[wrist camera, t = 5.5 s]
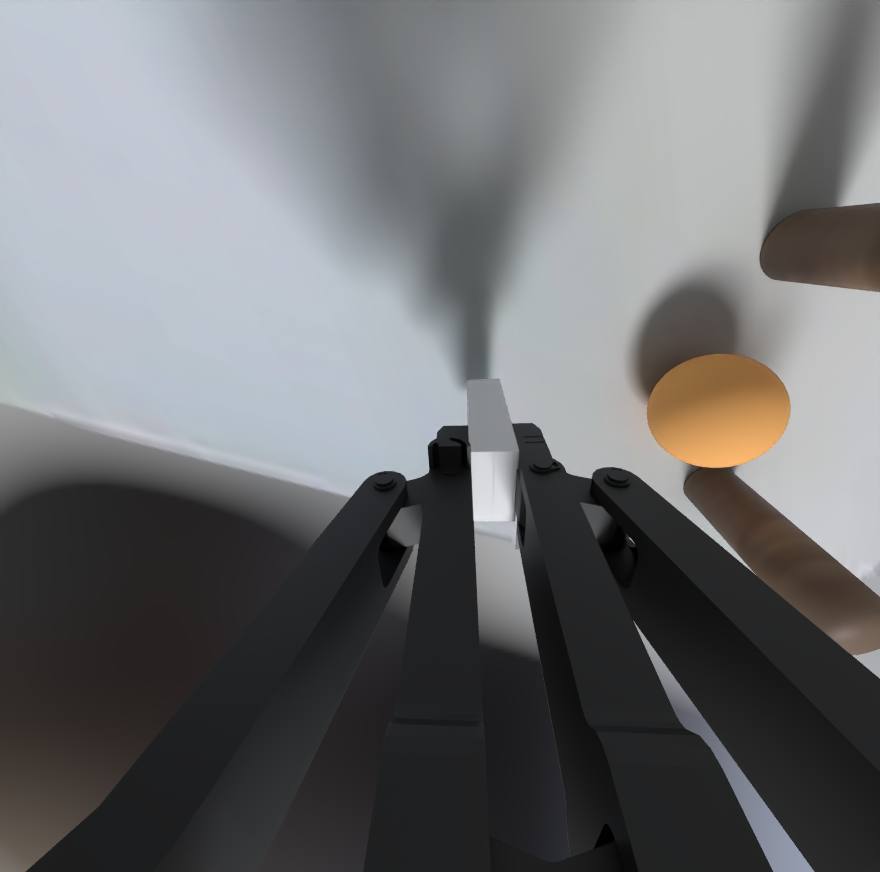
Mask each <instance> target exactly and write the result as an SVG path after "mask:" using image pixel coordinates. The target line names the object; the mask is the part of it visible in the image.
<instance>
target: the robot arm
mask: <svg viewBox="0 0 880 872" xmlns="http://www.w3.org/2000/svg"><path fill="white" fill-rule="evenodd" d="M467 417H468V426H443V427H442V428H441V429H440V430H439V431H438V432H437V439H435V440H433V441H432V442H430V444H429V445H428V456H429V473H428V474H426V475H425V476H423V477H420V478H417V479H414V480H409V481H406V479H405V476H403V475H402V474H400V473H397V472H394V471H384V472H379V473H376V474H374V475H372V476H370V477H369V478H367V479H366V480H365V481H364V482H363V484H362V485H361V486H360V487H359V488H358V490H357V491H356V492H355V493H354V495H353V496H352V497H351V498H350V499H349V501H348V502H347V503H346V504H345V506H344V507H343V508H342V509H341V511H340V512H339V513H338V514H337V515H336V517H335V518H334V519H333V520H332V522H331V523H330V524H329V525H328V526H327V528H326V529H325V530H324V531H323V533H322V534H321V535H320V536H319V538H318V539H317V540H316V541H315V542H314V544H313V545H312V546H311V547H310V549H309V550H308V551H307V552H306V554H305V555H304V556H303V557H302V559H301V560H300V561H299V562H298V563H297V565H296V566H295V567H294V568H293V570H292V571H291V572H290V573H289V574H288V576H287V577H286V578H285V579H284V580H283V582H282V583H281V584H280V585H279V587H278V588H277V589H276V590H275V591H274V593H273V594H272V595H271V596H270V598H269V599H268V600H267V601H266V602H265V604H264V605H263V606H262V607H261V609H260V610H259V611H258V612H257V613H256V615H255V616H254V617H253V618H252V620H251V621H250V622H249V623H248V624H247V626H246V627H245V628H244V630H243V631H242V632H241V633H240V634H239V636H238V637H237V638H236V639H235V641H234V642H233V643H232V644H231V645H230V647H229V648H228V649H227V650H226V651H225V653H224V654H223V655H222V656H221V658H220V659H219V660H218V661H217V663H216V664H215V665H214V666H213V668H212V669H211V670H210V671H209V672H208V674H207V675H206V676H205V677H204V679H203V680H202V681H201V682H200V683H199V685H198V686H197V687H196V688H195V689H194V691H193V692H192V693H191V695H190V696H189V697H188V698H187V699H186V701H185V702H184V703H183V704H182V705H181V707H180V708H179V709H178V711H177V712H176V713H175V714H174V715H173V716H172V718H171V719H170V720H169V721H168V723H167V724H166V725H165V726H164V728H163V729H162V730H161V731H160V732H159V734H158V735H157V736H156V737H155V738H154V740H153V741H152V742H151V744H150V745H149V746H148V747H147V748H146V750H145V751H144V752H143V753H142V754H141V756H140V757H139V758H138V759H137V761H136V762H135V763H134V764H133V765H132V767H131V768H130V769H129V770H128V772H127V773H126V774H125V775H124V776H123V778H122V779H121V780H120V781H119V783H118V784H117V785H116V786H115V788H114V789H113V790H112V791H111V792H110V794H109V795H108V796H107V797H106V799H105V800H104V801H103V802H102V803H101V805H100V806H99V807H98V808H97V809H96V810H94V811H93V812H92V813H91V814H90V815H89V816H88V817H87V818H85V819H84V821H82V822H81V823H80V824H79V825H78V826H76V827H75V829H73V830H72V831H71V832H70V833H69V834H67V835H66V836H65V837H64V838H63V839H62V840H61V841H60V842H59V843H57V844H56V845H55V846H54V847H53V848H52V849H51V850H50V851H48V852H47V853H46V854H45V855H44V856H43V857H42V858H41V859H39V860H38V861H37V862H36V863H35V864H34V865H33V866H32V867H30V869H28V870H27V871H26V872H258V870H259V869H260V867H261V865H262V863H263V861H264V859H265V857H266V855H267V853H268V851H269V849H270V847H271V845H272V843H273V841H274V838H275V836H276V834H277V832H278V830H279V828H280V826H281V824H282V822H283V820H284V818H285V816H286V813H287V811H288V809H289V807H290V805H291V803H292V801H293V799H294V797H295V795H296V792H297V791H298V788H299V786H300V784H301V782H302V780H303V778H304V776H305V774H306V772H307V770H308V768H309V766H310V764H311V761H312V759H313V757H314V755H315V753H316V751H317V749H318V747H319V745H320V743H321V740H322V738H323V736H324V734H325V732H326V730H327V728H328V726H329V724H330V722H331V720H332V718H333V716H334V714H335V711H336V709H337V707H338V705H339V703H340V701H341V699H342V697H343V695H344V693H345V690H346V688H347V686H348V684H349V682H350V680H351V678H352V676H353V674H354V672H355V670H356V668H357V666H358V664H359V662H360V659H361V657H362V655H363V653H364V651H365V649H366V647H367V645H368V643H369V641H370V639H371V637H372V634H373V632H374V630H375V628H376V626H377V624H378V622H379V620H380V618H381V616H382V614H383V612H384V609H385V607H386V605H387V603H388V601H389V599H390V597H391V595H392V593H393V591H394V589H395V587H396V584H397V582H398V580H399V578H400V576H401V574H402V572H403V570H404V568H405V566H406V564H407V562H408V559H409V557H410V555H411V553H412V551H413V546H414V545H415V544H419V548H418V555H417V562H416V570H415V576H414V583H413V590H412V597H411V605H410V612H409V619H408V626H407V633H406V641H405V647H404V654H403V662H402V669H401V676H400V683H399V690H398V697H397V704H396V710H395V714H394V717H393V719H392V721H391V722H390V723H389V725H388V728H387V731H386V735H385V739H384V745H383V750H382V756H381V762H380V768H379V774H378V781H377V787H376V794H375V800H374V807H373V813H372V819H371V826H370V833H369V839H368V845H367V851H366V858H365V865H364V871H363V872H773V870H772V868H771V866H770V864H769V862H768V860H767V859H766V856H765V854H764V852H763V850H762V848H761V846H760V844H759V842H758V840H757V838H756V836H755V834H754V832H753V830H752V828H751V826H750V824H749V822H748V820H747V818H746V816H745V814H744V812H743V810H742V808H741V806H740V804H739V802H738V800H737V797H736V796H735V793H734V791H733V789H732V787H731V785H730V783H729V781H728V779H727V777H726V775H725V773H724V771H723V769H722V768H721V765H720V764H719V762H718V760H717V759H716V757H715V755H714V753H713V752H712V750H711V748H710V747H709V746H708V745H707V744H706V743H705V742H704V740H703V739H702V738H701V737H700V736H699V735H697V734H695V733H693V732H691V731H689V730H687V729H685V728H684V727H683V725H682V724H681V723H680V722H679V720H678V718H677V716H676V714H675V712H674V710H673V708H672V706H671V704H670V702H669V699H668V697H667V695H666V693H665V690H664V688H663V686H662V684H661V681H660V679H659V677H658V675H657V672H656V670H655V668H654V666H653V664H652V661H651V659H650V657H649V655H648V653H647V651H646V648H645V646H644V644H643V641H642V639H641V637H640V635H639V632H638V630H637V628H636V626H635V624H634V622H635V623H636V625H637V626H638V628H639V629H640V630H641V632H642V633H643V634H644V636H645V637H646V639H647V640H648V641H649V642H650V644H651V646H652V647H653V648H654V650H655V651H656V652H657V654H658V655H659V657H660V658H661V659H662V661H663V662H664V663H665V665H666V666H667V668H668V669H669V670H670V672H671V673H672V675H673V676H674V677H675V679H676V680H677V681H678V683H679V684H680V686H681V687H682V688H683V690H684V691H685V693H686V694H687V695H688V697H689V698H690V700H691V701H692V702H693V704H694V705H695V706H696V708H697V709H698V711H699V712H700V713H701V715H702V716H703V718H704V719H705V720H706V721H707V723H708V724H709V726H710V727H711V729H712V730H713V731H714V733H715V734H716V736H717V737H718V738H719V740H720V741H721V743H722V744H723V745H724V747H725V748H726V749H727V751H728V752H729V754H730V755H731V756H732V758H733V759H734V761H735V762H736V763H737V765H738V766H739V767H740V769H741V770H742V772H743V773H744V774H745V776H746V777H747V779H748V780H749V781H750V783H751V784H752V785H753V787H754V788H755V790H756V791H757V792H758V794H759V795H760V797H761V798H762V799H763V801H764V802H765V804H766V805H767V806H768V808H769V809H770V810H771V812H772V813H773V815H774V816H775V817H776V819H777V820H778V821H779V823H780V824H781V826H782V827H783V829H784V830H785V831H786V833H787V834H788V835H789V837H790V838H791V840H792V841H793V842H794V844H795V845H796V847H797V848H798V849H799V851H800V852H801V853H802V855H803V856H804V858H805V859H806V860H807V862H808V863H809V865H810V866H811V867H812V869H813V870H814V871H815V872H880V679H879V678H878V677H877V676H876V675H875V674H873V673H872V672H871V671H870V670H869V669H867V668H866V667H865V666H864V665H863V664H861V663H860V662H859V661H858V660H857V659H855V658H854V657H853V656H852V655H851V654H850V653H848V652H847V651H846V650H845V649H844V648H842V647H841V646H840V645H839V644H838V643H836V642H835V641H834V640H833V639H832V638H830V637H829V636H828V635H827V634H826V633H824V632H823V631H822V630H821V629H820V628H818V627H817V626H816V625H815V624H814V623H812V622H811V621H810V620H809V619H808V618H806V617H805V616H804V615H803V614H802V613H800V612H799V611H798V610H797V609H796V608H794V607H793V606H792V605H791V604H790V603H788V602H787V601H786V600H785V599H784V598H783V597H781V596H780V595H779V594H778V593H777V592H775V591H774V590H773V589H772V588H771V587H769V586H768V585H767V584H766V583H765V582H763V581H762V580H761V579H760V578H759V577H757V576H756V575H755V574H754V573H753V572H751V571H750V570H749V569H748V568H747V567H745V566H744V565H743V564H742V563H741V562H739V561H738V560H737V559H736V558H735V557H733V556H732V555H731V554H730V553H729V552H727V551H726V550H725V549H724V548H723V547H721V546H720V545H719V544H718V543H717V542H715V541H714V540H713V539H712V538H711V537H709V536H708V535H707V534H706V533H705V532H703V531H702V530H701V529H700V528H699V527H698V526H696V525H695V524H694V523H693V522H692V521H690V520H689V519H688V518H687V517H686V516H684V515H683V514H682V513H681V512H680V511H678V510H677V509H676V508H675V507H674V506H672V505H671V504H670V503H669V502H668V501H666V500H665V499H664V498H663V497H662V496H660V495H659V494H658V493H657V492H656V491H654V490H653V489H652V488H651V487H650V486H648V485H647V484H646V483H645V482H644V481H642V480H641V479H640V478H639V477H638V476H636V475H634V474H633V473H631V472H629V471H626V470H623V469H621V468H615V467H607V468H601V469H597V470H596V471H595V472H594V473H593V476H592V479H589V478H584V477H578V476H574V475H571V474H568V473H567V472H566V470H565V468H564V466H563V465H562V464H561V463H560V462H558V461H556V460H555V459H553V458H552V456H551V453H550V451H549V449H548V446H547V444H546V443H545V439H544V437H543V434H542V432H541V430H540V429H539V428H538V427H537V426H535V425H534V424H533V423H518V424H512V423H511V419H510V416H509V412H508V408H507V405H506V401H505V397H504V394H503V390H502V386H501V383H500V379H475V380H467ZM515 513H516V515H517V533H516V549H519V548H520V553H521V558H522V564H523V569H524V575H525V580H526V586H527V591H528V596H529V602H530V607H531V612H532V618H533V623H534V629H535V634H536V639H537V645H538V650H539V656H540V661H541V667H542V672H543V678H544V683H545V689H546V694H547V699H548V705H549V710H550V716H551V721H552V727H553V732H554V738H555V743H556V748H557V754H558V759H559V765H560V770H561V775H562V781H563V786H564V793H565V802H566V822H567V833H568V843H569V850H570V856H571V857H570V858H567V859H564V860H561V861H558V862H548V861H545V860H543V859H540V858H538V857H535V856H534V855H531V854H529V853H527V852H525V851H522V850H520V849H518V848H515V847H513V846H511V845H508V844H506V843H504V842H502V841H500V840H497V839H495V838H493V837H490V836H489V822H488V802H487V781H486V760H485V740H484V727H483V717H482V698H481V674H480V655H479V653H480V652H479V633H478V632H479V631H478V609H477V608H478V607H477V585H476V564H475V541H474V521H515ZM629 537H630V538H631V539H632V540H633V542H634V543H635V544H634V543H633V542H632V541H631V540H630V539H629Z"/></svg>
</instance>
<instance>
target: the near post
mask: <svg viewBox="0 0 880 872" xmlns="http://www.w3.org/2000/svg"><path fill="white" fill-rule="evenodd" d="M760 263H761V268H762V270H763V272H764V273H765V274H766V275H767V276H768V277H770V278H771V279H774V280H780V281H789V282H797V283H806V284H815V285H823V286H832V287H840V288H849V289H858V290H866V291H875V292H880V203H874V204H864V205H853V206H843V207H833V208H823V209H812V210H804V211H800V212H797V213H794V214H792V215H790V216H789V217H787V218H786V219H784V220H783V221H781V222H780V223H779V224H778V225H777V226H776V227H775V228H774V229H773V230H772V231H771V233H770V234H769V236H768V237H767V239H766V241H765V242H764V245H763V247H762V250H761V255H760Z"/></svg>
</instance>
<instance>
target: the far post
mask: <svg viewBox="0 0 880 872" xmlns="http://www.w3.org/2000/svg"><path fill="white" fill-rule="evenodd" d="M684 493H685V495H686V496H687V497H688V499H689V500H690V501H691V502H692V503H693V504H694V505H695V507H696V508H697V509H698V510H699V511H700V512H701V513H702V514H703V516H704V517H705V518H706V519H707V520H708V521H709V522H710V523H711V525H712V526H713V527H714V528H715V529H716V530H717V531H718V532H719V534H720V535H721V536H722V537H723V538H724V539H725V540H726V541H727V543H728V544H729V545H730V546H731V547H732V548H733V549H734V550H735V552H736V553H737V554H738V555H739V556H740V557H741V558H742V560H743V561H744V562H745V563H746V564H747V565H748V566H749V567H750V569H751V570H752V571H753V572H754V573H755V574H756V575H757V576H758V577H759V578H760V579H761V580H762V581H763V582H765V583H766V584H767V585H768V586H769V587H771V588H772V589H773V590H774V591H775V592H777V593H778V594H779V595H780V596H781V597H783V598H784V599H785V600H786V601H787V602H788V603H790V604H791V605H792V606H793V607H794V608H796V609H797V610H798V611H799V612H800V613H802V614H803V615H804V616H805V617H806V618H808V619H809V620H810V621H811V622H812V623H814V624H815V625H816V626H817V627H818V628H820V629H821V630H822V631H823V632H824V633H826V634H827V635H828V636H829V637H830V638H832V639H833V640H834V641H835V642H836V643H838V644H839V645H840V646H841V647H842V648H844V649H845V650H846V651H847V652H848V653H850V654H851V655H858V654H863V653H868V652H871V651H874V650H877V649H879V648H880V597H879V596H878V595H877V594H876V593H875V592H873V591H872V590H871V589H870V588H869V587H867V586H866V585H865V584H864V583H863V582H862V581H860V580H859V579H858V578H857V577H856V576H854V575H853V574H852V573H851V572H850V571H849V570H847V569H846V568H845V567H844V566H843V565H841V564H840V563H839V562H838V561H837V560H836V559H834V558H833V557H832V556H831V555H830V554H828V553H827V552H826V551H825V550H824V549H823V548H821V547H820V546H819V545H818V544H817V543H815V542H814V541H813V540H812V539H811V538H810V537H808V536H807V535H806V534H805V533H804V532H802V531H801V530H800V529H799V528H798V527H797V526H795V525H794V524H793V523H792V522H791V521H790V520H788V519H787V518H786V517H785V516H784V515H782V514H781V513H780V512H779V511H778V510H777V509H775V508H774V507H773V506H772V505H771V504H769V503H768V502H767V501H766V500H765V499H764V498H762V497H761V496H760V495H759V494H758V493H756V492H755V491H754V490H753V489H752V488H751V487H749V486H748V485H747V484H746V483H745V482H743V481H742V480H741V479H740V478H739V477H738V476H736V475H735V474H734V473H733V472H732V471H730V470H729V469H728V468H726V467H722V468H709V467H703V468H700V469H698V470H697V471H695V472H694V473H692V474H691V475H690V476H689V477H688V479H687V480H686V482H685V484H684Z"/></svg>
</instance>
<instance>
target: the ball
mask: <svg viewBox="0 0 880 872" xmlns="http://www.w3.org/2000/svg"><path fill="white" fill-rule="evenodd" d="M789 417H790V399H789V395H788V392H787V390H786V388H785V386H784V384H783V383H782V381H781V380H780V379H779V378H778V376H777V375H776V374H775V373H774V372H773V371H772V370H770V369H769V368H768V367H766V366H765V365H763V364H761V363H759V362H757V361H755V360H753V359H750V358H747V357H744V356H740V355H734V354H710V355H704V356H700V357H696V358H693V359H690V360H688V361H685V362H683V363H681V364H679V365H678V366H676V367H674V368H673V369H671V370H670V371H669V372H668V373H666V374H665V375H664V376H663V377H662V378H661V379H660V381H659V382H658V383H657V384H656V386H655V387H654V389H653V391H652V393H651V395H650V398H649V401H648V407H647V420H648V425H649V428H650V431H651V433H652V435H653V437H654V438H655V440H656V441H657V443H658V444H659V445H660V446H661V447H662V448H663V449H664V450H665V451H666V452H668V453H669V454H670V455H672V456H674V457H675V458H677V459H679V460H681V461H683V462H686V463H689V464H692V465H696V466H701V467H709V468H722V467H731V466H735V465H739V464H743V463H746V462H748V461H751V460H753V459H755V458H757V457H759V456H761V455H762V454H764V453H765V452H766V451H768V450H769V449H770V448H772V447H773V446H774V444H775V443H776V442H777V441H778V440H779V439H780V437H781V436H782V434H783V433H784V431H785V429H786V427H787V424H788V421H789Z"/></svg>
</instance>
